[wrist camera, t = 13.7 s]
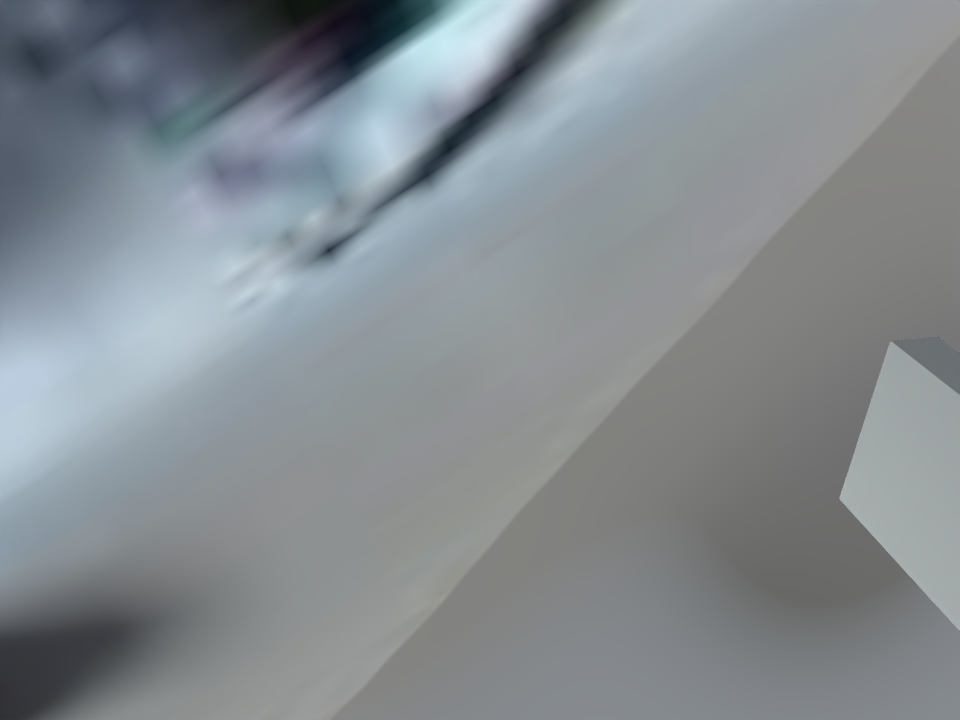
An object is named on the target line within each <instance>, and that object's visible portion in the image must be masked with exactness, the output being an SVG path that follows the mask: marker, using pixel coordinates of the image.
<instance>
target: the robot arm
mask: <svg viewBox="0 0 960 720" xmlns="http://www.w3.org/2000/svg"><path fill="white" fill-rule="evenodd" d="M839 499H840V500H841V501H842V502H843V503H844V504H845V506H846V507H848V509H849V510H850V511H851V512H852V513H853V514H854V515H855V516H856V518H857V519H859V521H860V522H861V523H862V524H863V525H864V526H865V527H866V528H867V530H868V531H869V532H870V533H871V534H872V535H873V536H874V537H875V538H876V539H877V541H878V542H879V543H880V544H881V545H882V546H883V547H884V548H885V549H886V551H887V552H888V553H889V554H890V555H891V556H892V557H893V558H894V559H895V560H896V562H897V563H898V564H899V565H900V566H901V567H902V568H903V569H904V570H905V571H906V572H907V574H908V575H909V576H910V577H911V578H912V579H913V580H914V581H915V582H916V583H917V584H918V586H919V587H920V588H921V589H922V590H923V591H924V592H925V593H926V594H927V595H928V597H929V598H930V599H931V600H932V601H933V602H934V603H935V604H936V605H937V607H938V608H939V609H940V610H941V611H942V612H943V613H944V614H945V615H946V616H947V617H948V619H949V620H950V621H951V622H952V623H953V624H954V625H955V626H956V627H957V628H958V630H959V631H960V352H959V351H957V350H956V349H955V348H953V347H952V346H950V345H949V344H948V343H946V342H945V341H944V340H942V339H941V338H940V337H928V338H917V339H906V340H895V341H891V342H890V344H889V348H888V351H887V354H886V357H885V360H884V363H883V366H882V369H881V372H880V375H879V379H878V382H877V384H876V388H875V391H874V394H873V397H872V400H871V403H870V406H869V409H868V412H867V415H866V418H865V421H864V425H863V428H862V431H861V434H860V437H859V440H858V443H857V446H856V450H855V452H854V455H853V458H852V462H851V465H850V468H849V471H848V474H847V477H846V480H845V483H844V486H843V489H842V492H841V495H840V498H839Z"/></svg>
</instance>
